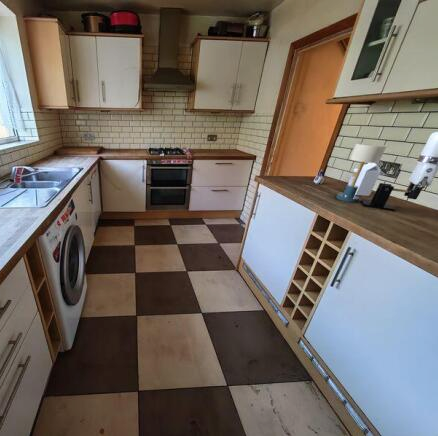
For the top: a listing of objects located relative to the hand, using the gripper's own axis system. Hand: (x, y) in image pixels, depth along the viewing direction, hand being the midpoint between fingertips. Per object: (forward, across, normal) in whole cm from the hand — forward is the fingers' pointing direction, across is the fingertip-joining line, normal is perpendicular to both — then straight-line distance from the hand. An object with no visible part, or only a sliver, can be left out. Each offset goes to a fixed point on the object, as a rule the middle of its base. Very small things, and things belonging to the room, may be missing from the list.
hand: (410, 197), depth 113 cm
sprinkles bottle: (+7, +29, +17) cm, 35 cm away
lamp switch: (-1, 0, +5) cm, 5 cm away
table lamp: (+7, +4, +22) cm, 24 cm away
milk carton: (+7, +21, +14) cm, 26 cm away
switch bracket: (+7, 0, +10) cm, 13 cm away
